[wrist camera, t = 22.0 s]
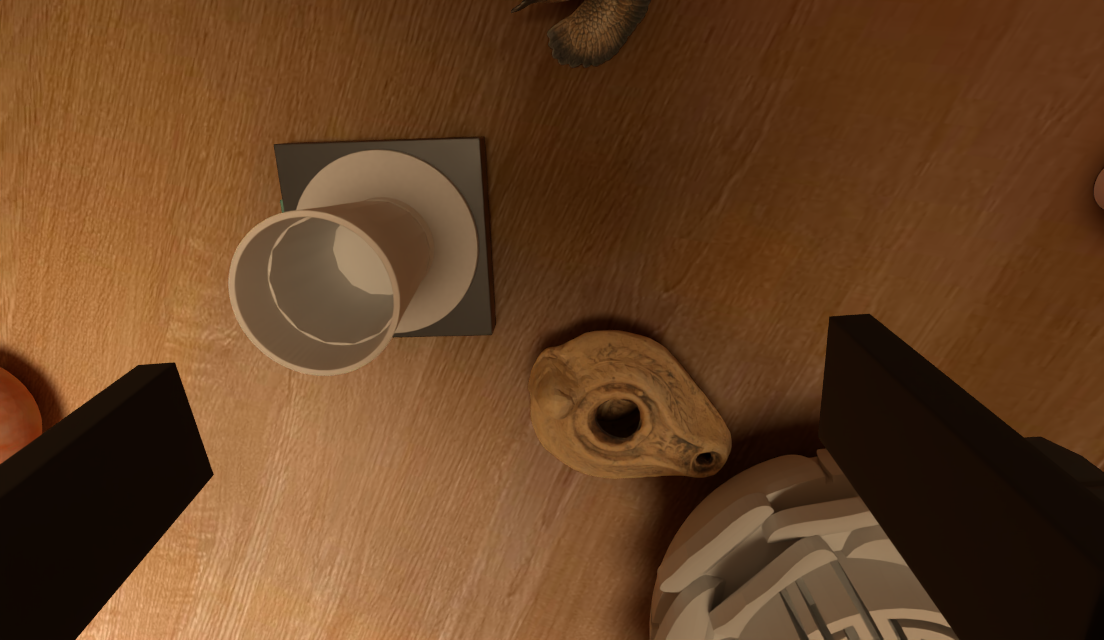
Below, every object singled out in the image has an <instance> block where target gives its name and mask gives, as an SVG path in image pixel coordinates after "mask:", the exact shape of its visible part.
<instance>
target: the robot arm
mask: <svg viewBox="0 0 1104 640" xmlns="http://www.w3.org/2000/svg"><path fill="white" fill-rule="evenodd" d="M818 438H819V439H820V440H821V442H822V443H823V445H824V446H825V448H826V449H827V450H828V452H829V453H830V455H831V456H832V458H833V459H834V460H835V462H836V463H837V465H838V466H839V468H840V469H841V471H842V472H843V473H844V475H845V476H846V478H847V479H848V481H849V482H850V483H851V485H852V486H853V488H854V489H855V491H856V492H857V493H858V495H859V496H860V498H861V499H862V501H863V502H864V504H865V505H866V506H867V508H868V509H869V511H870V512H871V514H872V515H873V516H874V518H875V519H876V521H877V522H878V524H879V525H880V526H881V528H882V529H883V531H884V532H885V534H886V535H887V537H888V538H889V539H890V541H891V542H892V544H893V545H894V547H895V548H896V549H897V551H898V552H899V554H900V555H901V557H902V558H903V559H904V561H905V562H906V564H907V565H908V567H909V568H910V570H911V571H912V572H913V574H914V575H915V577H916V578H917V580H918V581H919V582H920V584H921V585H922V587H923V588H924V590H925V591H926V592H927V594H928V595H929V597H930V598H931V600H932V601H933V603H934V604H935V605H936V607H937V608H938V610H939V611H940V613H941V614H942V615H943V617H944V618H945V620H946V621H947V623H948V624H949V625H950V627H951V628H952V630H953V631H954V633H955V634H956V636H957V637H958V638H959V640H1104V472H1103V471H1101V470H1100V469H1099V468H1097V467H1096V466H1095V465H1093V464H1092V463H1091V462H1089V461H1088V460H1087V459H1085V458H1084V457H1083V456H1081V455H1079V454H1076V453H1074V452H1072V451H1070V450H1068V449H1066V448H1064V447H1062V446H1059V445H1057V444H1055V443H1053V442H1051V441H1049V440H1047V439H1044V438H1042V437H1027V438H1023V437H1022V436H1021V435H1020V434H1019V433H1017V432H1016V431H1015V430H1014V429H1012V428H1011V427H1010V426H1009V425H1007V424H1006V423H1005V422H1004V421H1002V420H1001V419H1000V418H999V417H997V416H996V415H995V414H994V413H992V412H991V411H990V410H989V409H987V408H986V407H985V406H984V405H982V404H981V403H980V402H979V401H977V400H976V399H975V398H974V397H972V396H971V395H970V394H969V393H967V392H966V391H965V390H964V389H962V388H961V387H960V386H959V385H957V384H956V383H955V382H954V381H952V380H951V379H950V378H949V377H948V376H946V375H945V374H944V373H943V372H941V371H940V370H939V369H938V368H936V367H935V366H934V365H933V364H931V363H930V362H929V361H928V360H926V359H925V358H924V357H923V356H921V355H920V354H919V353H918V352H916V351H915V350H914V349H913V348H911V347H910V346H909V345H908V344H906V343H905V342H904V341H903V340H901V339H900V338H899V337H898V336H896V335H895V334H894V333H893V332H891V331H890V330H889V329H888V328H886V327H885V326H884V325H883V324H881V323H880V322H879V321H878V320H877V319H875V318H874V317H873V316H872V315H870V314H859V315H845V316H831V317H829V327H828V338H827V348H826V359H825V369H824V380H823V390H822V401H821V411H820V422H819V432H818ZM213 475H214V474H213V471H212V469H211V466H210V463H209V460H208V457H207V454H206V451H205V448H204V445H203V442H202V440H201V437H200V434H199V431H198V428H197V425H196V422H195V419H194V416H193V413H192V411H191V408H190V405H189V402H188V399H187V396H186V393H185V390H184V387H183V385H182V382H181V379H180V376H179V373H178V370H177V367H176V364H175V363H161V364H146V365H138V366H136V367H135V368H134V369H132V370H131V371H129V372H128V373H127V374H125V375H124V376H122V377H121V378H120V379H118V380H117V381H115V382H114V383H113V384H111V385H110V386H108V387H107V388H106V389H104V390H103V391H101V392H100V393H99V394H97V395H96V396H95V397H93V398H92V399H90V400H89V401H88V402H86V403H85V404H83V405H82V406H81V407H79V408H78V409H76V410H75V411H74V412H72V413H71V414H69V415H68V416H67V417H65V418H64V419H62V420H61V421H60V422H58V423H57V424H55V425H54V426H53V427H51V428H50V429H49V430H47V431H46V432H44V433H43V434H42V435H40V436H39V437H37V438H36V439H35V440H33V441H32V442H30V443H29V444H28V445H26V446H25V447H23V448H22V449H21V450H19V451H18V452H16V453H15V454H14V455H12V456H11V457H9V458H8V459H7V460H5V461H4V462H3V463H1V464H0V640H76V638H77V637H78V636H79V635H80V634H81V632H82V631H83V630H84V629H85V628H86V626H87V625H88V624H89V623H90V622H91V621H92V619H93V618H94V617H95V616H96V615H97V613H98V612H99V611H100V610H101V609H102V607H103V606H104V605H105V604H106V603H107V601H108V600H109V599H110V598H111V597H112V595H113V594H114V593H115V592H116V591H117V590H118V588H119V587H120V586H121V585H122V584H123V582H124V581H125V580H126V579H127V578H128V576H129V575H130V574H131V573H132V572H133V570H134V569H135V568H136V567H137V566H138V564H139V563H140V562H141V561H142V560H143V558H144V557H145V556H146V555H147V554H148V553H149V551H150V550H151V549H152V548H153V547H154V545H155V544H156V543H157V542H158V541H159V539H160V538H161V537H162V536H163V535H164V533H165V532H166V531H167V530H168V529H169V527H170V526H171V525H172V524H173V523H174V522H175V520H176V519H177V518H178V517H179V516H180V514H181V513H182V512H183V511H184V510H185V508H186V507H187V506H188V505H189V504H190V502H191V501H192V500H193V499H194V498H195V496H196V495H197V494H198V493H199V492H200V490H201V489H202V488H203V487H204V486H205V485H206V483H207V482H208V481H209V480H210V479H211V477H212V476H213Z"/></svg>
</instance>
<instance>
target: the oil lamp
mask: <svg viewBox="0 0 1104 640" xmlns="http://www.w3.org/2000/svg"><path fill="white" fill-rule="evenodd" d="M527 389H528V391H529V392H530V397H531V402H530V417H531V421H532V424H533V427H534V430H535V433H536V435H537V437H538V439H539V441H540V443H541V444H542V445H543V447H544V448H545V449H546V450H548V451H549V452H550V453H551V454H552V455H553V456H555V457H556V458H557V459H558V460H560V461H561V462H563V463H564V464H566V465H567V466H569V467H571V468H572V469H574V470H576V471H578V472H581V473H583V474H588V475H591V476H596V477H602V478H643V477H657V476H671V475H681V476H689V477H695V478H703V477H709V476H712V475H715V474H716V473H717V472H718V471H720V469H721V468H722V467H723V466H724V464H725V463H726V461H727V459H728V456H729V454H730V452H731V448H732V439H731V433H730V431H729V429H728V428H727V426H726V424H725V422H724V420H723V419H722V417H721V416H720V414H719V412H718V411H717V410H716V408H715V407H714V406H713V405H712V403H711V402H710V401H709V399H708V398H707V397H706V395H705V394H704V393H703V392H702V391H701V389H700V388H699V387H698V386H697V385H696V383H695V382H694V381H693V380H692V378H691V377H690V376H689V375H688V373H687V372H686V371H685V369H684V368H683V367H682V366H681V364H680V363H679V362H678V361H677V360H676V359H675V357H674V356H673V355H672V354H671V353H670V352H669V351H668V350H667V349H666V348H665V347H664V346H662V345H661V344H659V343H658V342H656V341H654V340H652V339H650V338H648V337H645V336H642V335H637V334H634V333H630V332H625V331H620V330H602V331H592V332H587V333H584V334H582V335H580V336H579V337H577V338H575V339H573V340H570V341H568V342H566V343H564V344H563V345H560V346H556V347H549V348H546V349H545V350H544V351H543V352H542V353H541V354H540V355H539V357H538V358H537V360H536V362H535V364H534V366H533V368H532V370H531V375H530V379H529V382H528V387H527Z"/></svg>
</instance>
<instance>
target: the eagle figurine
mask: <svg viewBox="0 0 1104 640" xmlns="http://www.w3.org/2000/svg"><path fill="white" fill-rule="evenodd" d="M565 1H569V0H523V1H522V3H521V4H519V5H518V6H516V7H515V8H513V9H512V10H511V13H514V12H517V11H520V10H521V9H523V8H525V7H527V6H528V5H530V4H533V3H538V2H546V3H549V2H554V3H556V2H565ZM650 2H651V0H585V1H584V2H583V3H582V4H581V5H580V6H579V7H578V8H577V9H576V10H575V11H574V12H573V13H572V14H571V15H570V16H568V17H567V18H565V19H563V20H561V21H560V22H559V23H558V24H556V25H554V26H553V27H552V28H551V29H550V30H548V32H547V36H548V37H549V38H550V40H549V43H548V46H549V47H550V48H552V49H553V51H552V57H553V58H554V59H558V63H559V64H561V65H564V64H569V66H570V67H572V68H575V67H577V66H579V65H581V64H583V67H585V68H587V67H589V66H590V65H593V66H598V65H600V64H603V63H604V62H605V61H606V60H610V59H611V58H612V57H613V55H616V54H617V53H618V52H619V49H620V48H621V47H622V46H623V45H624V44H625V43H626V41H627V37H628V36H630V35H631V33H632V32H633V31H634V30H635V28H636V26H637V24H638V23H640V22H641V20H642V19H643V18H644V17H645V14H646V12H647V10H648V5H649V3H650Z"/></svg>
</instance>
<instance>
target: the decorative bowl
mask: <svg viewBox="0 0 1104 640" xmlns="http://www.w3.org/2000/svg"><path fill="white" fill-rule="evenodd" d="M649 632H650V640H959V638H958V637H957V636H956V634H955V633H954V631H953V630H952V628H951V627H950V625H949V624H948V623H947V621H946V620H945V618H944V617H943V615H942V614H941V613H940V611H939V610H938V608H937V607H936V605H935V604H934V603H933V601H932V600H931V598H930V597H929V595H928V594H927V592H926V591H925V590H924V588H923V587H922V585H921V584H920V582H919V581H918V580H917V578H916V577H915V575H914V574H913V572H912V571H911V570H910V568H909V567H908V565H907V564H906V562H905V561H904V559H903V558H902V557H901V555H900V554H899V552H898V551H897V549H896V548H895V547H894V545H893V544H892V542H891V541H890V539H889V538H888V537H887V535H886V534H885V532H884V531H883V529H882V528H881V526H880V525H879V524H878V522H877V521H876V519H875V518H874V516H873V515H872V514H871V512H870V511H869V509H868V508H867V506H866V505H865V504H864V502H863V501H862V499H861V498H860V496H859V495H858V493H857V492H856V491H855V489H854V488H853V486H852V485H851V483H850V482H849V481H848V479H847V478H846V476H845V475H844V473H843V472H842V471H841V469H840V468H839V466H838V465H837V463H836V462H835V460H834V459H833V458H832V456H831V455H830V453H829V452H828V450H827V449H818V450H817V457H812V458H807V457H804V456H801V455H784V456H779V457H776V458H773V459H770V460H767V461H765V462H762V463H759V464H757V465H755V466H753V467H750V468H748V469H746V470H744V471H742V472H741V473H739V474H737V475H735V476H734V477H732V478H731V479H729V480H728V481H726V482H724V483H723V484H722V485H720V486H719V487H718V488H717V489H715V490H714V491H713V492H712V493H711V494H709V495H708V496H707V497H706V498H705V499H704V500H703V501H702V502H701V503H700V504H699V505H698V506H697V507H696V508H695V509H694V510H693V511H692V512H691V514H690V515H689V516H688V517H687V519H686V520H685V521H684V523H683V524H682V526H681V527H680V529H679V530H678V532H677V533H676V535H675V536H674V538H673V540H672V542H671V543H670V545H669V548H668V550H667V552H666V554H665V556H664V559H663V561H662V564H661V565H660V567H659V568H658V570H657V579H656V583H655V587H654V591H653V597H652V602H651V611H650V630H649Z"/></svg>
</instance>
